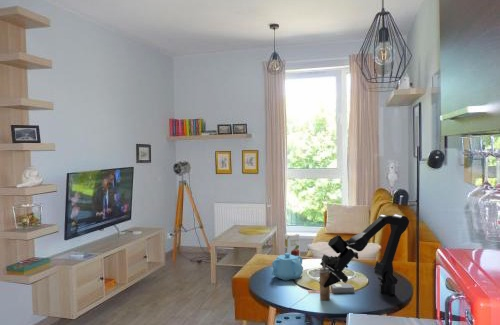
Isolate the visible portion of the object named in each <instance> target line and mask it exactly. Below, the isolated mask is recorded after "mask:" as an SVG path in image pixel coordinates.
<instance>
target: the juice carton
mask: <svg viewBox="0 0 500 325" xmlns="http://www.w3.org/2000/svg"><path fill="white" fill-rule="evenodd" d="M300 237H301V236H300V234H299V233H297V232H291V233H290V232H289V233H284V238H283V240H284V241H283V242H284V254H285V253H290V255H294V256H300V257H301V245H300V244H301V243H300V242H301V241H300V239H301V238H300ZM298 259H299V261H300V258H298Z"/></svg>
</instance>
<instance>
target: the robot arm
mask: <svg viewBox="0 0 500 325" xmlns="http://www.w3.org/2000/svg"><path fill="white" fill-rule="evenodd" d="M409 224H410V220H409V218H408V217H407V216H405V215H402V214H397V213H396V214H392V215H390V214H389V215H388V214H386V215H385V214H380V215H378V217H377V219H375V220H374V221H373V222H372V223H370V225H368V226H367V227H366V228H365V229H364V230H362V232H359V233H357V234H355V235H353V236H352V237H350V238H349V239H345V240H344V239H343V237H342V236H341V235H339V234H337V235H335V236H334V237H332V238H330V239H329V241H328V242H327V245H328V246H329V247H330V248H331V249H332V250H333V251H334V252H335V253H336V254H339V255H338V256H333V255H330V256H329V255H327V254H324V253H323V255H322V258H321V262H320V263H319V264H320V265H321V266H322V267H321V268H323V261H324V262H325V268H329V278H328V280H327V281H326V282H325V284H324V287H325V288H326V287H328V286H330V287H331V285H333V284H339V283H341V282H343V284H347V282H348V281H349V277H348V276H347V275H346V274H345V272H344V273H343V272H342V271H345V268H346V269H348V268H349V266H348V265H349V264H350V263H351V261H352V260H353V259H357V260H358V259H359V253H358V252H362V251H364V249H366V247H367V245H369V241H370V239H372V238H373V237H374V236H375V235H376V234H378V233H379V232H380V231H381V230H382V229H383V228H384V227H386V226H387V225H389V227H390V232H389V235H388V236H389V237H388V240H387V243H386V245H385V249H384V253H383V256H382V258H381V260H380V261H378V260H377V261H376V262H375V266H374V268H373V270H374V274H375V276H376V277H377V279H378V280H379V284H378V292H379V293H380V294H386V295H388V296H389V297H397V294H396V285H397V283H398V281H399V280H398V278H397V277H396V276H394V265H393V263H394V259H395V256H396V253H397V250H398V246H399V243H400V240H401V236H402V235H403V233H404V232H405V231H407V229H408V226H409ZM355 251H356V252H355ZM320 265H319V266H320ZM318 284H320V281H318Z"/></svg>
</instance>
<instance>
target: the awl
mask: <svg viewBox="0 0 500 325" xmlns="http://www.w3.org/2000/svg"><path fill="white" fill-rule="evenodd" d="M319 269H320V279H319V282H320V283H319V290H320V293H319V298H320V300H321V301H324V302H325V301H327V302H328V301H330V300H331V298H330V297H331V296H330V295H331V293H330V290H331V285H330V286H328V287H326V288H325V287H324V284H325V282H326V281H327V280H328V278H329V268H325V262H324V261H323V268H322V267H320V268H319Z"/></svg>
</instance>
